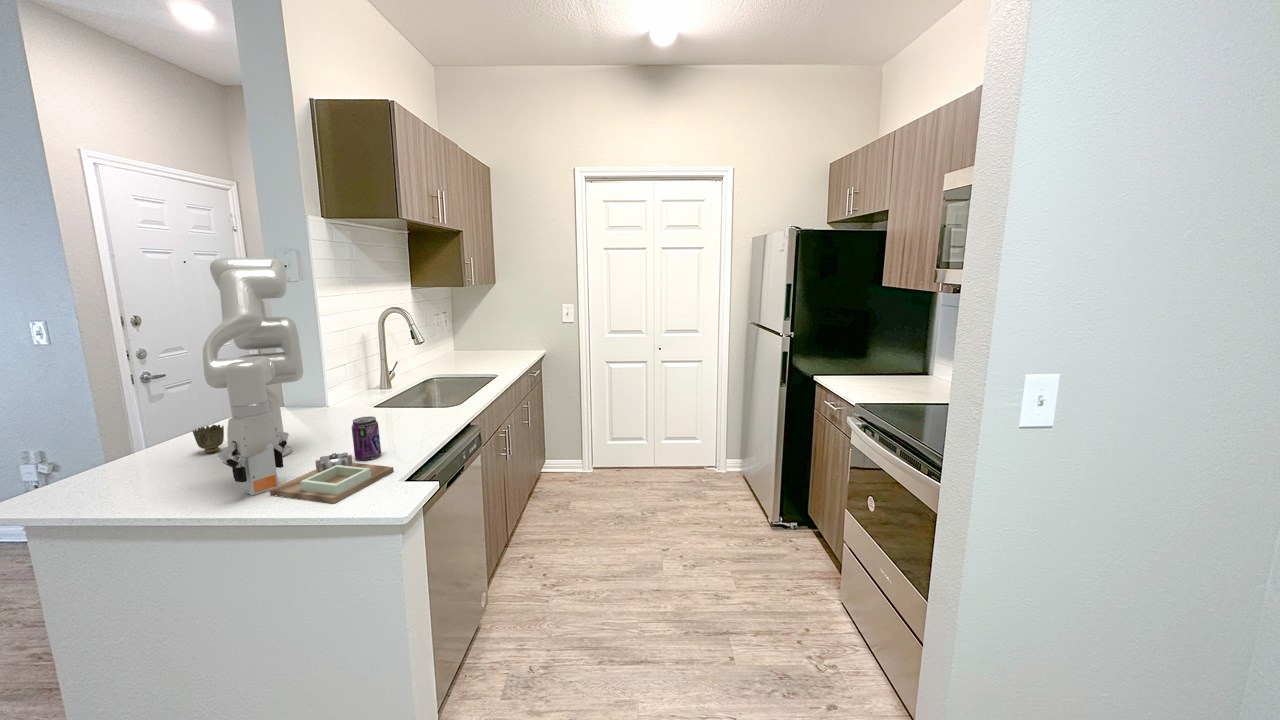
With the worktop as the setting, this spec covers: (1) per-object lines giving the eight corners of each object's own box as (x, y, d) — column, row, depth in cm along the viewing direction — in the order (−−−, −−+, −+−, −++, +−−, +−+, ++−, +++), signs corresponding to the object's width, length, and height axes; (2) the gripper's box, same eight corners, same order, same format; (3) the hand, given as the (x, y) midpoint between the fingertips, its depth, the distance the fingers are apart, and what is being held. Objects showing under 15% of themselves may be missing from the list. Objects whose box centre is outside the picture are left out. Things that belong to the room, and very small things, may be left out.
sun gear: (309, 472, 137) (307, 459, 136) (335, 461, 145) (333, 448, 144) (334, 475, 135) (333, 462, 134) (359, 463, 143) (358, 451, 142)
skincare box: (252, 496, 126) (245, 451, 124) (245, 492, 128) (238, 448, 126) (279, 487, 131) (273, 444, 129) (272, 484, 133) (265, 441, 131)
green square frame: (301, 490, 126) (300, 481, 125) (337, 473, 136) (336, 464, 136) (337, 495, 123) (335, 485, 122) (371, 477, 133) (370, 468, 133)
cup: (191, 454, 156) (187, 430, 154) (218, 446, 162) (214, 423, 161) (205, 457, 153) (201, 432, 151) (232, 449, 160) (228, 425, 158)
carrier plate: (270, 495, 127) (269, 489, 126) (335, 465, 146) (335, 460, 145) (334, 503, 122) (333, 498, 121) (393, 472, 141) (393, 467, 140)
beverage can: (370, 462, 148) (365, 423, 146) (349, 460, 150) (345, 422, 147) (386, 453, 155) (382, 416, 153) (366, 452, 156) (362, 415, 154)
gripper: (271, 400, 135) (280, 461, 138) (201, 418, 118) (213, 486, 121) (293, 402, 133) (301, 463, 136) (225, 420, 117) (236, 489, 119)
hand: (260, 474), depth 129 cm, fingers open, 9 cm apart
